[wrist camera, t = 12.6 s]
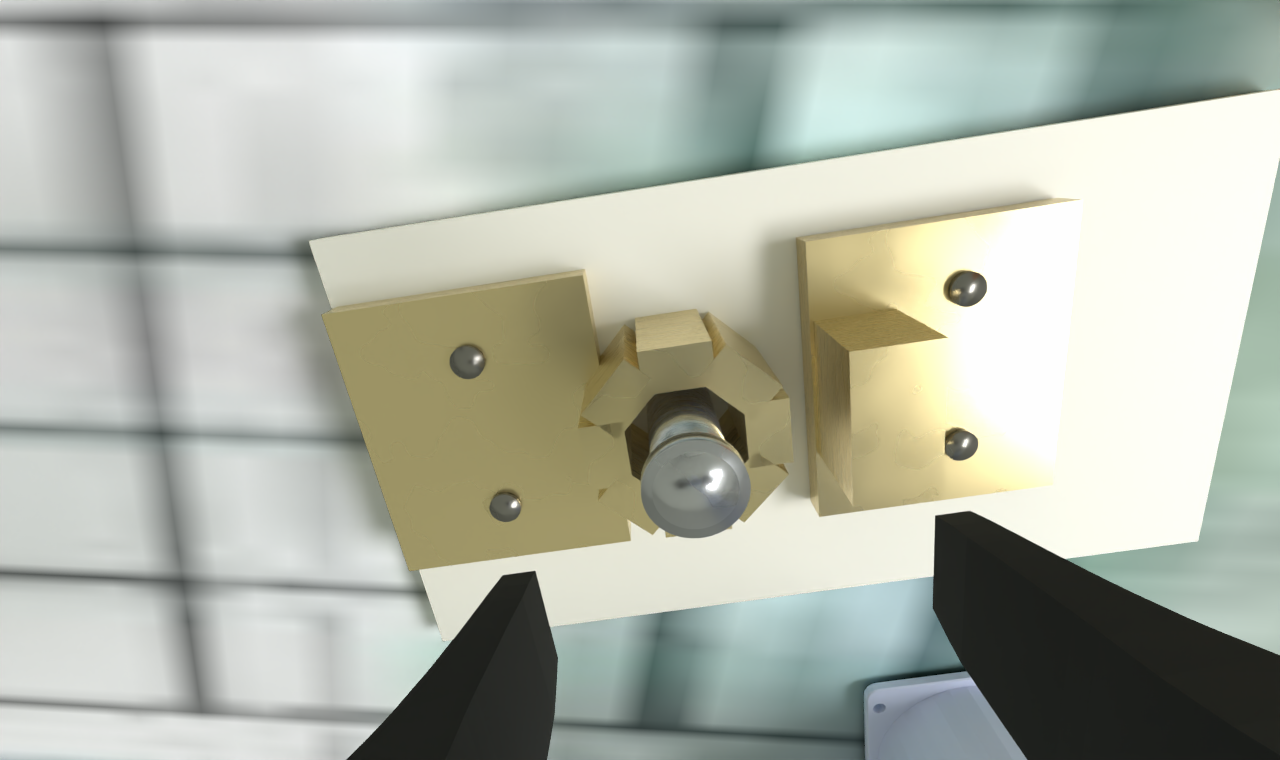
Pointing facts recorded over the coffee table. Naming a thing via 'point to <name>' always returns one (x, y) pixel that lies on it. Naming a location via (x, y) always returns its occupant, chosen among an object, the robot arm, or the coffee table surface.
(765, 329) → the board
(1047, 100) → the coffee table surface
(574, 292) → the fixed leaf
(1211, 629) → the robot arm
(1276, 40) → the coffee table surface
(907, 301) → the loose leaf
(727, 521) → the pin
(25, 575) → the coffee table surface
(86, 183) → the coffee table surface
